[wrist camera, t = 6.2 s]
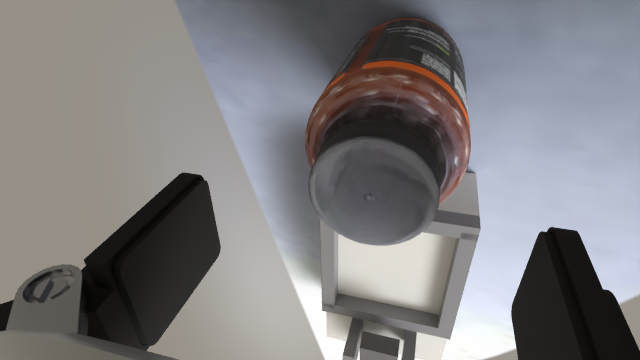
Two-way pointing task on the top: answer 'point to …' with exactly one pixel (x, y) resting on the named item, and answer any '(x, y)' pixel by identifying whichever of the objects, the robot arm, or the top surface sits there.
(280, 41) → the top surface
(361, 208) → the supplement bottle
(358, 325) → the box
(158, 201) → the robot arm
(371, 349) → the breaker lever
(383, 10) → the top surface
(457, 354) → the top surface
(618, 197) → the top surface
